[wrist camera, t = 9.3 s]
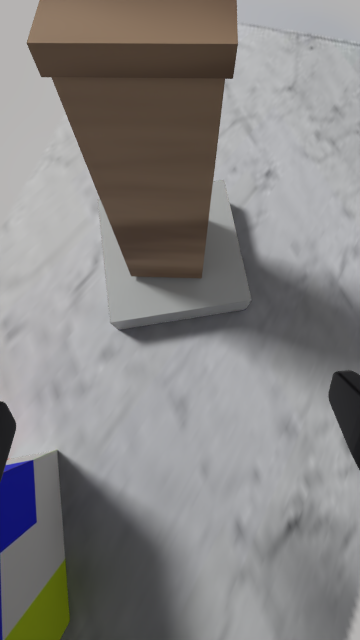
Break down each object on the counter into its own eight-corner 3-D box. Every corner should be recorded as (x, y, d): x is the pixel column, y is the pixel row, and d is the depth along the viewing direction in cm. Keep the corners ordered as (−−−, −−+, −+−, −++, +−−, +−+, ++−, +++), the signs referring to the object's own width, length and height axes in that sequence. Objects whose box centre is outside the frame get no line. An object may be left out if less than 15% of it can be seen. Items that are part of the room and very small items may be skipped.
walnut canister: (204, 281, 20) (237, 44, 7) (128, 278, 21) (26, 43, 8) (205, 216, 22) (234, -73, 9) (134, 214, 22) (61, -72, 9)
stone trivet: (243, 311, 23) (251, 299, 20) (119, 331, 23) (110, 322, 20) (220, 203, 26) (224, 179, 23) (107, 221, 26) (97, 199, 23)
